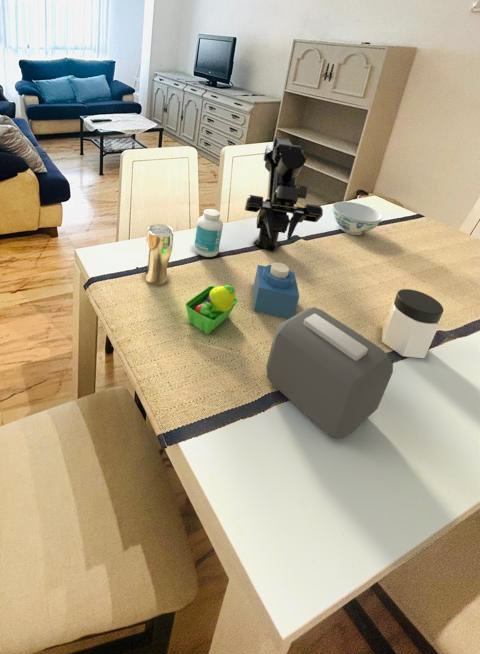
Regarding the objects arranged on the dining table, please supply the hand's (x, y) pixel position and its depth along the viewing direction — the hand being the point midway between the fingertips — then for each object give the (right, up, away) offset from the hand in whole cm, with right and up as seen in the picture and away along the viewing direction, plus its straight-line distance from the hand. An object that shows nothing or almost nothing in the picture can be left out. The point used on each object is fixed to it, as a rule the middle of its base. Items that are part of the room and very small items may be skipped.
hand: (279, 238), depth 101 cm
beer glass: (-32, -12, +4) cm, 34 cm away
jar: (+22, -22, -14) cm, 34 cm away
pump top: (-3, -8, -6) cm, 10 cm away
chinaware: (+40, -3, +35) cm, 54 cm away
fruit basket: (-20, -18, -10) cm, 29 cm away
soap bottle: (-3, -16, -3) cm, 16 cm away
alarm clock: (-6, -26, -28) cm, 39 cm away
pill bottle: (-15, -7, +18) cm, 25 cm away
